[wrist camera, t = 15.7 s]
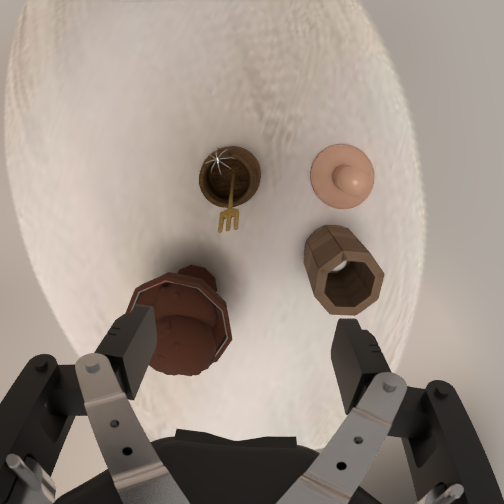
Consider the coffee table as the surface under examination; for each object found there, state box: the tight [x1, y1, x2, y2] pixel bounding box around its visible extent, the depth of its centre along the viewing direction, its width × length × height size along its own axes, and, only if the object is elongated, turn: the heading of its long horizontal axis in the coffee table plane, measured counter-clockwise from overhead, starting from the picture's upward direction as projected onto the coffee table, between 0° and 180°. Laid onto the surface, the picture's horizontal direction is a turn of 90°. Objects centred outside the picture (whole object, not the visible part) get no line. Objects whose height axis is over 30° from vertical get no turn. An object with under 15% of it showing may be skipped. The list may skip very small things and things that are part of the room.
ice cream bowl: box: [125, 265, 232, 376], centre depth 31 cm, size 11×11×15 cm
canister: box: [304, 225, 384, 316], centre depth 32 cm, size 6×6×9 cm
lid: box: [311, 144, 374, 209], centre depth 31 cm, size 7×7×6 cm
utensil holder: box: [199, 146, 261, 233], centre depth 28 cm, size 6×6×12 cm
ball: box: [332, 261, 347, 271], centre depth 34 cm, size 3×3×3 cm
